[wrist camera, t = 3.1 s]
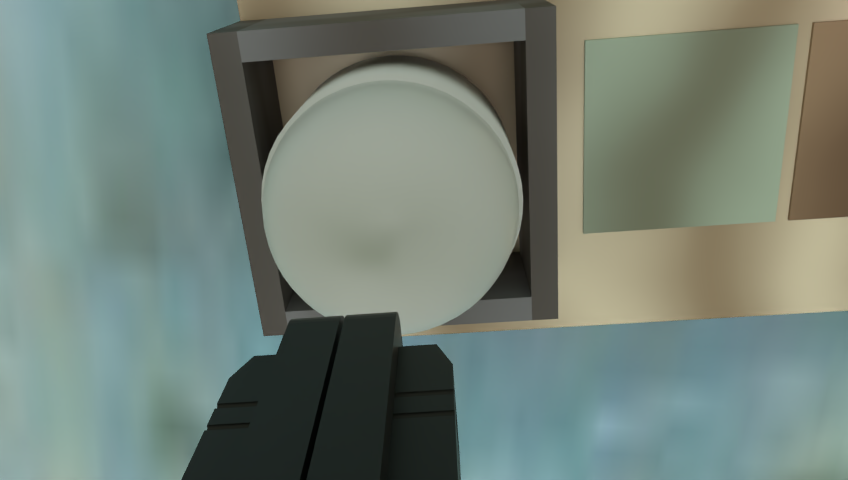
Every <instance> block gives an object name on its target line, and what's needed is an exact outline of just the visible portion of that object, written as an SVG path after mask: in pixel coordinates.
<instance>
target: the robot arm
mask: <svg viewBox="0 0 848 480" xmlns="http://www.w3.org/2000/svg"><path fill="white" fill-rule="evenodd" d="M182 480H461V473H460V454H459V441H458V428H457V415H456V402H455V389H454V376H453V364H452V363H451V362H450V360H449V359H448V358H447V357H446V355H445V354H444V353H443V352H442V351H441V349H440V348H439V347H438V346H437V344H434V345H418V346H403V344H402V334H401V325H400V319H399V314H398V312H385V313H370V314H354V315H346V316H345V318H344V316H327V317H311V318H296V319H291V320H290V321H289V323H288V325H287V328H286V330H285V333H284V336H283V338H282V341H281V343H280V346H279V349H278V351H277V354H276V355H264V356H254V357H253V358H251V359H250V360H249V361H248V362H247V363H246V364H245V365H244V366H242V367H241V368H240V369H239V370H238V371H237V372H236V373H235V374H233V375H232V376H231V377H230V378H229V380H228V382H227V384H226V386H225V388H224V390H223V392H222V395H221V397H220V399H219V401H218V403H217V409H214V412H213V414H212V416H211V418H210V420H209V422H208V424H207V430H206V431H204V433H203V435H202V437H201V439H200V441H199V443H198V446H197V448H196V450H195V452H194V454H193V456H192V458H191V460H190V463H189V465H188V467H187V469H186V471H185V473H184V475H183V477H182Z"/></svg>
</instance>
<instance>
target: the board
mask: <svg viewBox="0 0 848 480" xmlns="http://www.w3.org/2000/svg"><path fill="white" fill-rule="evenodd" d="M237 3H238V9H239V15H240V21H239V22H237V23H234V24H231V25H229V26H226V27H224V28H221V29H218V30H216V31H213V32H210V33H208V34H207V39H208V44H209V49H210V54H211V60H212V65H213V70H214V76H215V81H216V86H217V91H218V97H219V102H220V107H221V113H222V118H223V123H224V128H225V134H226V139H227V144H228V149H229V155H230V160H231V165H232V171H233V176H234V181H235V186H236V192H237V197H238V202H239V208H240V213H241V218H242V223H243V229H244V234H245V239H246V244H247V250H248V255H249V260H250V266H251V271H252V276H253V281H254V287H255V292H256V297H257V302H258V308H259V313H260V318H261V324H262V329H263V334H264V336H272V335H284V333H285V330H286V328H287V325H288V323H289V321H290V320H291V319H296V318H311V317H325V316H323V315H321V314H320V313H318V312H317V311H315V310H314V309H313V308H312V307H310V306H309V305H308V304H307V303H306V302H304V301H303V299H302V298H301V297H300V296H299V295H298V294H297V293H296V292H295V291H294V290H293V289H292V288H291V287H290V285H289V284H288V282H287V281H286V280H285V278H284V277H283V276H282V274H281V272H280V270H279V269H278V267H277V265H276V263H275V261H274V258H273V256H272V253H271V251H270V248H269V245H268V242H267V238H266V234H265V229H264V223H263V213H262V202H261V195H262V180H263V175H264V169H265V165H266V162H267V159H268V156H269V153H270V151H271V149H272V147H273V145H274V143H275V141H276V138H277V137H278V135H279V134H280V132H281V131H282V129H283V128H284V126H285V125H286V123H287V122H288V121H289V120H290V119H291V118H292V117H293V115H294V114H295V113H296V112H297V111H298V110H299V108H300V107H301V106H302V105H303V104H304V103H305V101H306V100H307V99H308V98H309V97H310V96H311V95H312V94H313V92H314V91H315V90H316V89H317V88H318V87H319V86H320V85H321V84H322V83H323V82H325V81H326V80H327V79H328V78H330V77H331V76H332V75H334V74H335V73H337V72H339V71H340V70H342V69H343V68H345V67H348V66H350V65H352V64H355V63H357V62H360V61H363V60H367V59H370V58H374V57H381V56H388V55H405V56H413V57H420V58H424V59H428V60H431V61H435V62H437V63H440V64H442V65H445V66H447V67H449V68H451V69H453V70H454V71H456V72H458V73H459V74H461V75H463V76H464V77H465V78H467V79H468V80H469V81H470V82H472V83H473V84H474V85H475V86H476V87H477V88H478V89H479V90H480V91H481V92H482V93H483V94H484V95H485V96H486V98H487V99H488V100H489V102H490V103H491V104H492V106H493V107H494V109H495V110H496V112H497V114H498V116H499V118H500V119H501V122H502V124H503V127H504V129H505V132H506V134H507V137H508V140H509V143H510V146H511V149H512V152H513V154H514V157H515V160H516V163H517V166H518V170H519V174H520V178H521V182H522V192H523V215H522V221H521V226H520V231H519V234H518V237H517V240H516V243H515V246H514V248H513V250H512V252H511V254H510V257H509V259H508V261H507V263H506V265H505V267H504V269H503V271H502V272H501V274H500V275H499V277H498V278H497V280H496V281H495V283H494V284H493V285H492V287H491V288H490V289H489V290H488V291H487V292H486V293H485V295H484V296H483V297H482V298H481V299H480V300H479V301H478V302H477V303H475V304H474V305H473V306H472V307H471V308H470V309H468V310H467V311H465V312H464V313H462V314H461V315H459V316H458V317H456V318H454V319H452V320H450V321H448V322H446V323H444V324H442V325H440V326H437V327H434V328H431V329H429V330H425V331H421V332H417V333H412V334H404V335H402V336H416V335H434V334H451V333H468V332H485V331H503V330H520V329H537V328H555V327H572V326H589V325H607V324H624V323H641V322H659V321H676V320H693V319H711V318H728V317H745V316H763V315H780V314H797V313H815V312H832V311H848V0H237Z"/></svg>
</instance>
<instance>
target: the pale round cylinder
mask: <svg viewBox="0 0 848 480" xmlns="http://www.w3.org/2000/svg"><path fill="white" fill-rule="evenodd" d="M261 202H262V213H263V223H264V229H265V234H266V238H267V242H268V245H269V248H270V251H271V253H272V256H273V258H274V261H275V263H276V265H277V267H278V269H279V270H280V272H281V274H282V276H283V277H284V278H285V280H286V281H287V282H288V284H289V285H290V287H291V288H292V289H293V290H294V291H295V292H296V293H297V294H298V295H299V296H300V297H301V298H302V299H303V301H304V302H306V303H307V304H308V305H309V306H310V307H312V308H313V309H314V310H315V311H317V312H318V313H320V314H321V315H323V316H325V317H327V316H344V318H345V316H346V315H354V314H370V313H385V312H398V314H399V319H400V325H401V334H402V335H404V334H412V333H417V332H421V331H425V330H429V329H431V328H434V327H437V326H440V325H442V324H444V323H446V322H448V321H450V320H452V319H454V318H456V317H458V316H459V315H461V314H462V313H464V312H465V311H467V310H468V309H470V308H471V307H472V306H473V305H474V304H475V303H477V302H478V301H479V300H480V299H481V298H482V297H483V296H484V295H485V293H486V292H487V291H488V290H489V289H490V288H491V287H492V285H493V284H494V283H495V281H496V280H497V278H498V277H499V275H500V274H501V272H502V271H503V269H504V267H505V265H506V263H507V261H508V259H509V257H510V254H511V252H512V250H513V248H514V246H515V243H516V240H517V237H518V234H519V231H520V226H521V221H522V215H523V192H522V182H521V178H520V174H519V170H518V166H517V163H516V160H515V157H514V154H513V152H512V149H511V146H510V143H509V140H508V137H507V134H506V132H505V129H504V127H503V124H502V122H501V119H500V118H499V116H498V114H497V112H496V110H495V109H494V107H493V106H492V104H491V103H490V102H489V100H488V99H487V98H486V96H485V95H484V94H483V93H482V92H481V91H480V90H479V89H478V88H477V87H476V86H475V85H474V84H473V83H472V82H470V81H469V80H468V79H467V78H465V77H464V76H463V75H461V74H459V73H458V72H456V71H454V70H453V69H451V68H449V67H447V66H445V65H442V64H440V63H437V62H435V61H431V60H428V59H424V58H420V57H413V56H405V55H388V56H381V57H374V58H370V59H367V60H363V61H360V62H357V63H355V64H352V65H350V66H348V67H345V68H343V69H342V70H340V71H339V72H337V73H335V74H334V75H332V76H331V77H330V78H328V79H327V80H326V81H325V82H323V83H322V84H321V85H320V86H319V87H318V88H317V89H316V90H315V91H314V92H313V94H312V95H311V96H310V97H309V98H308V99H307V100H306V101H305V103H304V104H303V105H302V106H301V107H300V108H299V110H298V111H297V112H296V113H295V114H294V115H293V117H292V118H291V119H290V120H289V121H288V122H287V123H286V125H285V126H284V128H283V129H282V131H281V132H280V134H279V135H278V137H277V138H276V141H275V143H274V145H273V147H272V149H271V151H270V153H269V156H268V159H267V162H266V165H265V169H264V175H263V180H262V195H261Z"/></svg>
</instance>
